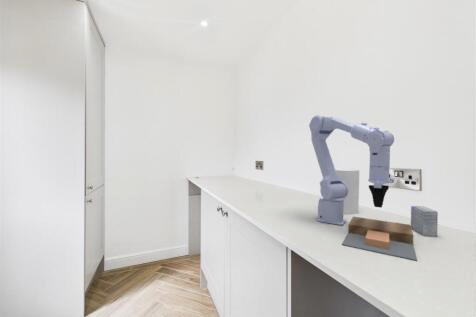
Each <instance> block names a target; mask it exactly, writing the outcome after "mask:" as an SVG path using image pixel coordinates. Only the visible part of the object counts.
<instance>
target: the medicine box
mask: <svg viewBox="0 0 476 317" xmlns="http://www.w3.org/2000/svg"><path fill="white" fill-rule="evenodd" d="M438 216H439V214H438V211H437V210H435V209H432V208H429V207H427V206H424V205H412V206H411V207H410V226H411V229H412V231H415V232H416V233H418V234H420V235H421V236H423V237H436V238H437V237H438V223H439V222H438V218H439V217H438Z"/></svg>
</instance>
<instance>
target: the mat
mask: <svg viewBox="0 0 476 317" xmlns="http://www.w3.org/2000/svg"><path fill="white" fill-rule="evenodd" d="M365 238H366V236H363V235H358V234H352V233H348V232H347V234H346V235H345V238H344V239H343V241H342V243H341V245H342V246H345V247H350V248H354V249H357V250H358V249H360V250H363V251H368V252H373V253H378V254H382V255H387V256H392V257H396V258H401V259H405V260H410V261H416V262H417V261H418V258H417V255H416V249H415V246H414V244H413V245H412V244H407V243H401V242H396V241H390V240H389V249H385V248H380V247H375V246H370V245H365Z"/></svg>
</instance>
